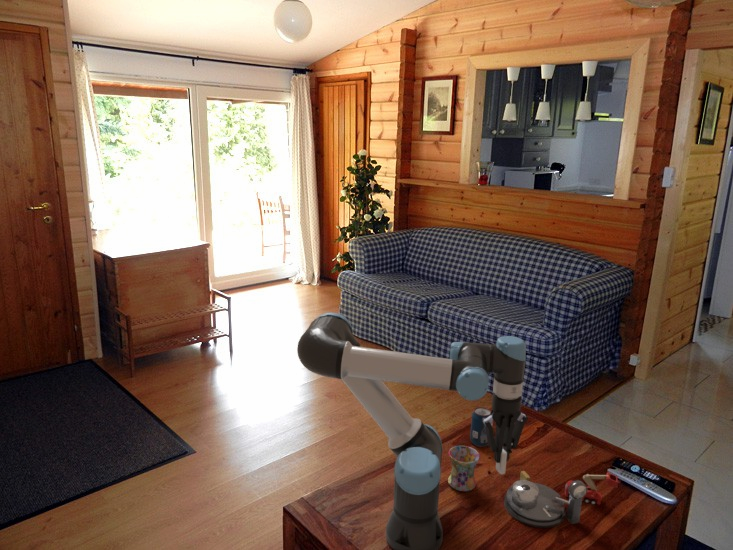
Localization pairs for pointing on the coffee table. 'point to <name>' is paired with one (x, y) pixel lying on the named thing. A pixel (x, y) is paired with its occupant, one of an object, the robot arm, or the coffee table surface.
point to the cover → (525, 494)
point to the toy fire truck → (594, 487)
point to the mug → (463, 467)
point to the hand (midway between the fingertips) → (500, 471)
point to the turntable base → (532, 523)
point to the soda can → (479, 427)
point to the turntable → (539, 504)
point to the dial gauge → (574, 500)
